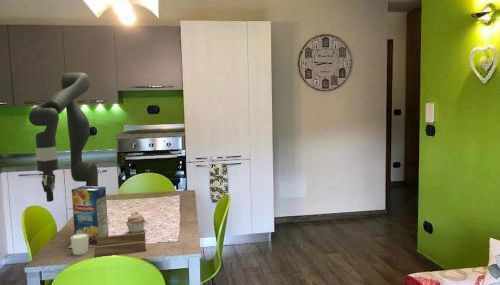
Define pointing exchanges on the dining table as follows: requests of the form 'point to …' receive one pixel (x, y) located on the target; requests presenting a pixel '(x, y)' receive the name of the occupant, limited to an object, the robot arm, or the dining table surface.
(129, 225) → the cupcake
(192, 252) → the dining table surface
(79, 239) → the white tapered cylinder
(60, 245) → the dining table surface
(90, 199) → the juice carton
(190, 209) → the dining table surface
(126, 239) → the walnut channel
